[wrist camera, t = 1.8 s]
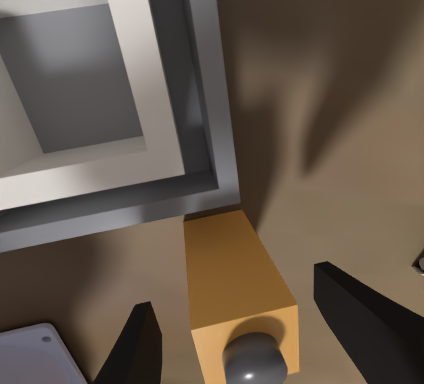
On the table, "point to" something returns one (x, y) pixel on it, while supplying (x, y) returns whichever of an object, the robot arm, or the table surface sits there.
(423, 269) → the newspaper
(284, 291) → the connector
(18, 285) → the table surface
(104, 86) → the walled box
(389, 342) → the robot arm
